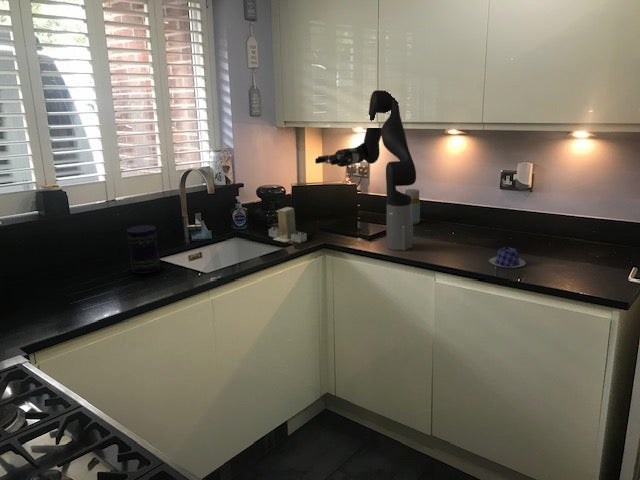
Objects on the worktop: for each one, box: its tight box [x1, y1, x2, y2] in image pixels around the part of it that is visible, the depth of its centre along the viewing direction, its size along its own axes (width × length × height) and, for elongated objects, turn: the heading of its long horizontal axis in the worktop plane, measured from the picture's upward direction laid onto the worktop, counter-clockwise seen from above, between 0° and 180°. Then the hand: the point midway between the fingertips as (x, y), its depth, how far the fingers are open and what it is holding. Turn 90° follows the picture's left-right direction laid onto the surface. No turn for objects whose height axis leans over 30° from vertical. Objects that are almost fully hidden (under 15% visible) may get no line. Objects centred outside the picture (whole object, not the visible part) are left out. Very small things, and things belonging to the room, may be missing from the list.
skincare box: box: [277, 206, 296, 239], centre depth 227 cm, size 6×4×12 cm
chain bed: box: [268, 226, 308, 244], centre depth 229 cm, size 18×4×4 cm, turn 50°
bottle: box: [404, 188, 421, 226], centre depth 245 cm, size 7×7×15 cm
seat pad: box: [272, 237, 292, 243], centre depth 229 cm, size 7×10×1 cm
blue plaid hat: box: [488, 246, 526, 268], centre depth 189 cm, size 12×12×5 cm
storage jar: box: [126, 224, 161, 274], centre depth 194 cm, size 10×10×15 cm
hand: (323, 161), depth 232 cm, fingers open, 8 cm apart
